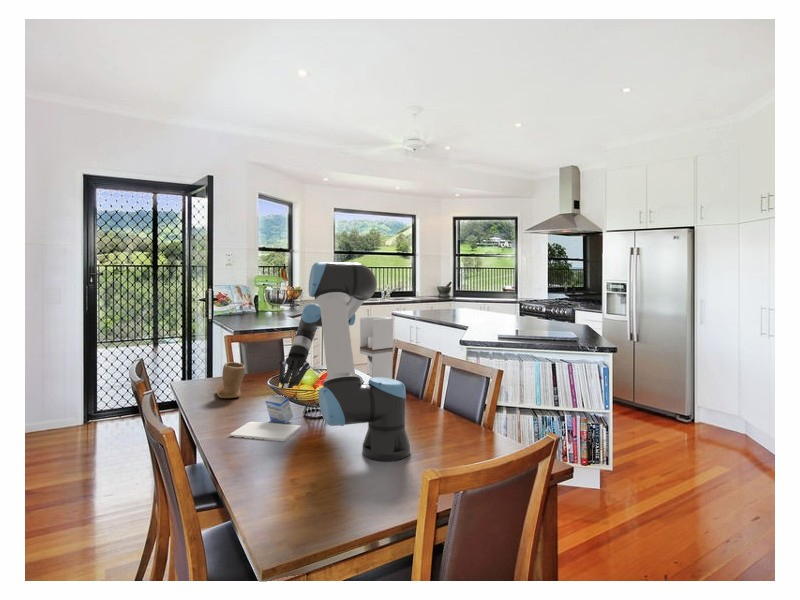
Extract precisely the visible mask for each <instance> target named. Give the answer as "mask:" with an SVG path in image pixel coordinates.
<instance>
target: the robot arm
mask: <svg viewBox="0 0 800 600" xmlns="http://www.w3.org/2000/svg"><path fill="white" fill-rule="evenodd" d="M309 273H310V274H309V279H308V289H307V290H308V295H309V297H311V298H314V302H315V303H308V304H306V305H305V306H304V307H303V309H302V312H301V314H300V320H299V323H298V327H297V330H296V333H295V337H294V338H293V339H294V340H293V341H292V345H291V347H290V349H289V352H288V357H286V359H285V360H284V361H282V360H281V361H279V362H278V364H279V375H278V377H279V378H278V382H279V384H280V385H281V388H292V389H293V387H295V386H296V387H298V386H299V385H300V383H301V381H302V380H303V379H304V376H305V375H306V373H307V371H309V370H310V369H311V365H310V363H309V362H307V359H308V357H309V353H310V350H311V347H312V344H313V341H314V338H315V335H316V333H317V330H318V328H320V327H322V336H323V345H324V354H325V355H324V356H325V365H326V366H325V367H326V375H327V377H326V378H325V380H324V381H323V383H322V385H323V386H322V387H320V389H319V390H318V404H319V409H320V414H321V416H322V419H323V421H324V422H325V424H326V425H328V426H331V427H337V426H341V427H343V426H346V425H356V424H364V423H368V425H367V427H368V428H367V431H366V434H365V437H364V440H363V443H362V455H363V456H365V457H367V458H368V459H371V460H375V461H381V462H392V460H394V461H398V459H400V460H402V458H403V459H405V458H407V457H408V456H410V454H409V453H411V444H410V440H409V437H408V433H407V431H406V403H407V402H406V401H407V400H406V399H407V395H406V393H407V392H406V385H405V384H404V383H403V382H402V381H400V380H398V379H394V378H392V379H389V378H381V377H374V378H372V377H370V378H369V379H368V383H365V384H363V383H362V380H361V379H362V378H361V376H359V375H358V374H357V373H356V372H355V371H356V370H355V364H354V355H353V347H352V340H351V338H352V337H351V331H350V326H353V325H354V324H355V322H356V312H357V311H358V309H360V307H361V306H362V305H363V303H364V302H366V301H367V300H370V299H371V298H372V297H373V295H374V294H375V292H376V289H377V285H378V284H377V283H378V282H377V278H376V276H375V274H374V272H373V271H372V270H371V269H370V268H369V266H366V265H365V264H362V263H359V262H338V261H337V262H333V261H331V262H330V261H329V262H328V261H321V262H320V261H319V262H318V261H317V262H314V264H313V265H311V268H310V272H309ZM286 367H287V369H286ZM281 388H280V389H281ZM279 397H284V395H283V396H282V395H281V394H280V395H279ZM284 398H285V397H284ZM406 456H407V457H406ZM404 457H405V458H404Z"/></svg>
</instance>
